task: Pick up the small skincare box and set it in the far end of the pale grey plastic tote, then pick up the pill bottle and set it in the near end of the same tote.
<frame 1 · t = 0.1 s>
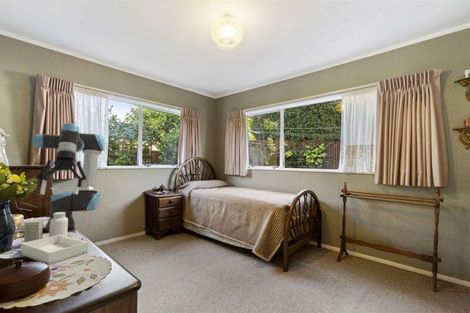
hand: (59, 194, 111), 28 cm above the dresser, tool tilted 20°, fingers open, 13 cm apart
pill bottle: (58, 240, 128), on the dresser
skincare box: (32, 245, 120), on the dresser
tote: (54, 253, 109), on the dresser
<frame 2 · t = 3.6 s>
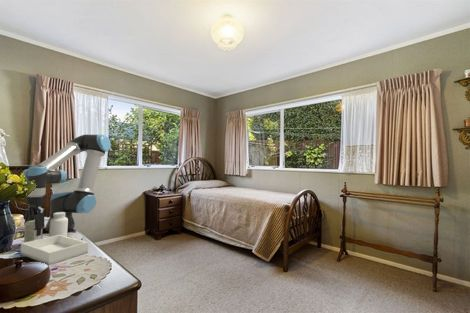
hand: (33, 240, 120), 2 cm above the dresser, tool pointing down, fingers closed on skincare box, 7 cm apart
skincare box: (32, 245, 120), on the dresser, touching gripper
everything else where it was.
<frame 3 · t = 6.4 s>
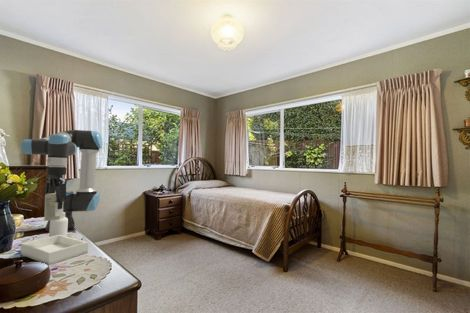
hand: (53, 214, 111), 18 cm above the dresser, tool pointing down, fingers closed on skincare box, 7 cm apart
skincare box: (53, 219, 110), point 16 cm above the dresser, touching gripper
everything else where it was.
when the fingers open (5 cm above the dresser, at t = 9.5 s): skincare box drops 2 cm, resting on tote.
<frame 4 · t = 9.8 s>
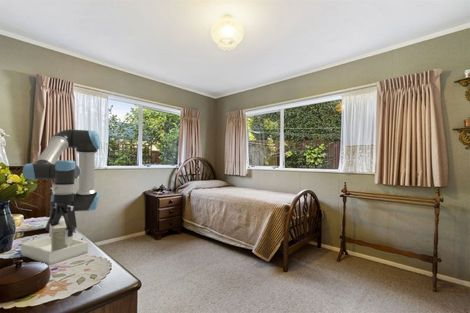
hand: (61, 241, 107), 6 cm above the dresser, tool pointing down, fingers open, 10 cm apart
skincare box: (60, 253, 107), point 1 cm above the dresser, touching tote
everything else where it was.
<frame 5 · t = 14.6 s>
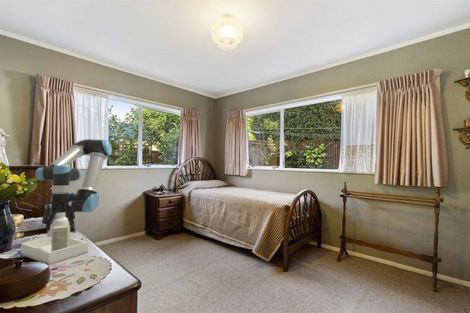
hand: (58, 234, 128), 3 cm above the dresser, tool pointing down, fingers closed on pill bottle, 8 cm apart
pill bottle: (58, 240, 128), on the dresser, touching gripper
everything else where it was.
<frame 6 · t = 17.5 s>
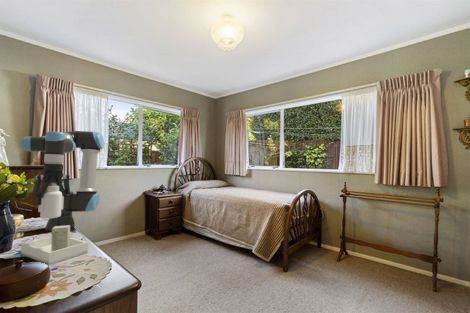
hand: (51, 210, 113), 20 cm above the dresser, tool pointing down, fingers closed on pill bottle, 8 cm apart
pill bottle: (50, 217, 112), point 16 cm above the dresser, touching gripper
everything else where it was.
when the fingers open (6 cm above the dresser, at t = 20.5 s): pill bottle drops 1 cm, resting on tote.
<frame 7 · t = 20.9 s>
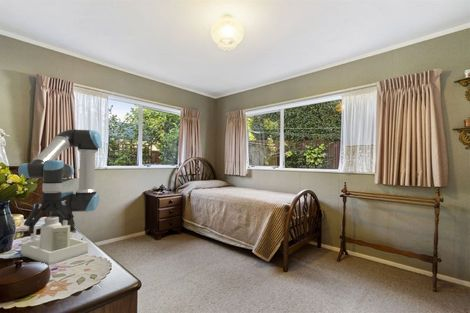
hand: (49, 236, 112), 7 cm above the dresser, tool pointing down, fingers open, 12 cm apart
pill bottle: (50, 249, 112), point 1 cm above the dresser, touching tote
everything else where it was.
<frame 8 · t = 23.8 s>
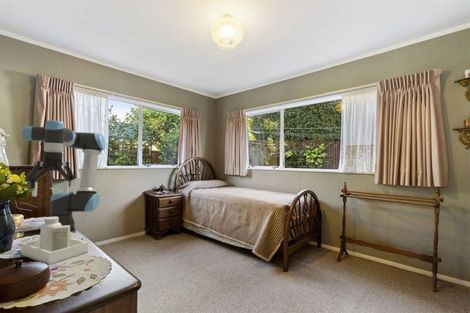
hand: (50, 194, 115), 27 cm above the dresser, tool pointing down, fingers open, 13 cm apart
nothing on the dresser moved.
at the end: skincare box inside the target area on the tote (4.7 cm from its centre), point 0.8 cm above the tote's base; pill bottle inside the target area on the tote (5.0 cm from its centre), point 0.8 cm above the tote's base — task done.
